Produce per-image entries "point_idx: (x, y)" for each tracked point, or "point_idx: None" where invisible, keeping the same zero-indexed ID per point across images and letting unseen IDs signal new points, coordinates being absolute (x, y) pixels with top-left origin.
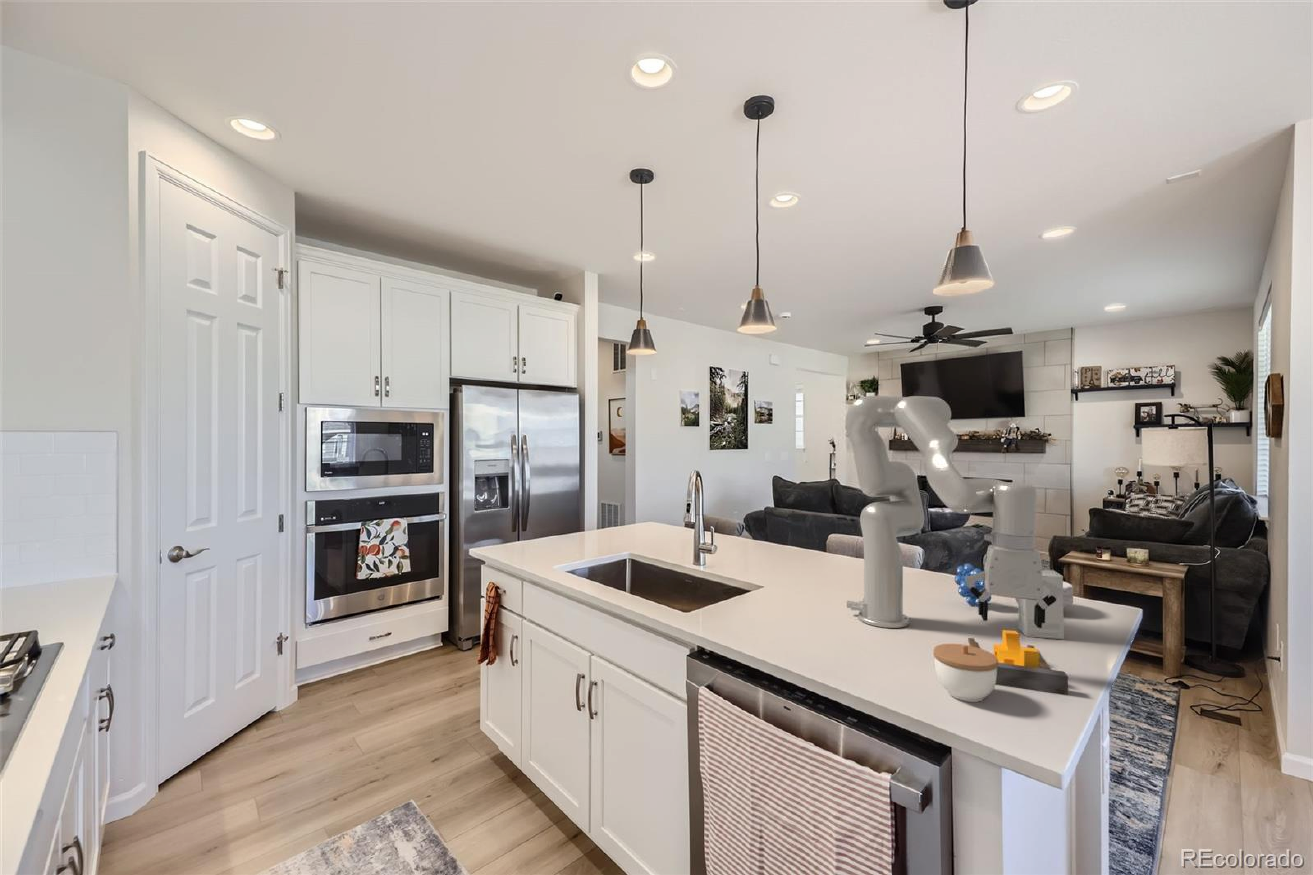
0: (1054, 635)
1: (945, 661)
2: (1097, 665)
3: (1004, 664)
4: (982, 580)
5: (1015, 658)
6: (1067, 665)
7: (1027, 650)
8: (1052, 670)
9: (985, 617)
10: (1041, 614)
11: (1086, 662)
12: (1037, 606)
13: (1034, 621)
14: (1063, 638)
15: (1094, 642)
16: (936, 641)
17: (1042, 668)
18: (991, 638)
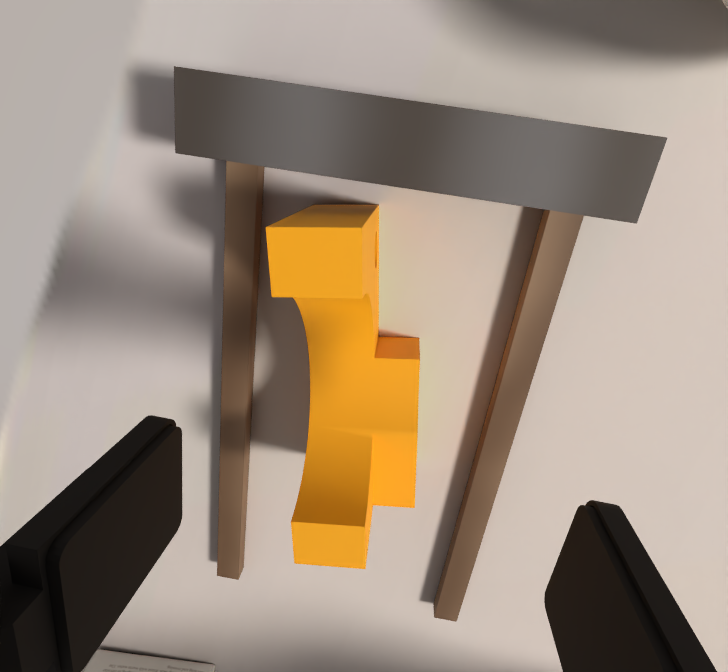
0: (118, 664)
1: None
2: (33, 454)
3: (497, 180)
4: None
5: (358, 377)
6: None
7: (337, 236)
8: (236, 149)
9: (617, 521)
10: (65, 498)
11: (65, 475)
12: (45, 629)
13: (173, 522)
14: (95, 652)
15: None
16: None
17: (250, 353)
18: (348, 638)
